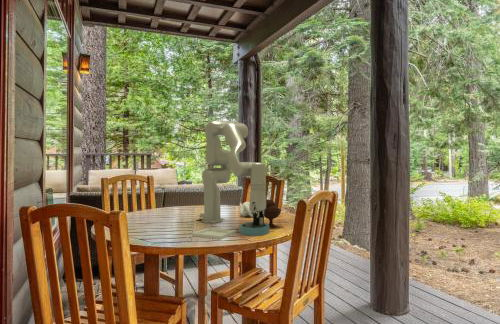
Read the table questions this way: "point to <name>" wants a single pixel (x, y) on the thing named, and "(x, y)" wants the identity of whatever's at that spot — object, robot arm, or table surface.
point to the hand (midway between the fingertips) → (258, 224)
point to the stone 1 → (249, 224)
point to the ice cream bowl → (271, 212)
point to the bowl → (254, 230)
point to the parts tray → (214, 233)
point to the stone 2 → (260, 222)
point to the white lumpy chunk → (247, 211)
